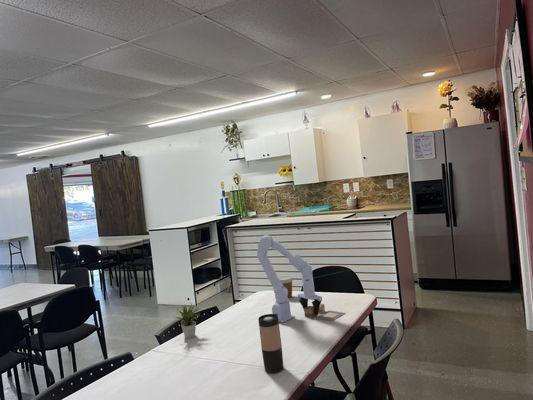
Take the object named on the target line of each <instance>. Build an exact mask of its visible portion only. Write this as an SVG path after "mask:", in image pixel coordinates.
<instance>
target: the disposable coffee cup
mask: <svg viewBox="0 0 533 400" xmlns="http://www.w3.org/2000/svg"><path fill="white" fill-rule="evenodd" d="M278 278H279V280H280V282H281V283H282V284H283V286H284V287H285V288H286V289H287V290H288V295H287V296H288V299H291V298H293V277H292V276H290V275H287V276H280V277H278Z"/></svg>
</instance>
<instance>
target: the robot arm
mask: <svg viewBox="0 0 533 400" xmlns="http://www.w3.org/2000/svg"><path fill="white" fill-rule="evenodd" d="M269 250H276V251H278V253H280V254H281V255H282V256H284V257H285V258H287V259H288V263H289V264H290V265H292V266H293V268H295V269H296V270H297V271H300V273H301V276H302V278H301V282H302V290H303V291H302V292H303V293H298V294H297V299H298V302H299V303H300V305H301V307H302V309H303V310H304V308H306V307H308V306H309V301H310V300H311V304H312V306H313V307H314V313H315V315H317V314H319V313H318V312H319V306H320V303H322V301H323V296H320V295H318V294H316V292H315V284H314V276H313V267H312V265H311V264H310V263H309V262H308V261H307V260H305V259H303V258H302V257H301V255H300V254H297V253H292V252H290V250H288V249H287V247H285V246H284V245H283V244H282V243H281V242H279V241H278V240H277V239H276V238H274V237H272V236H271V235H269V234H265V235H263V236H262V237H261V238H260V239H259V242H258V244H257V253H256V256H257V260H258V261H259V262H260V263H259V264H260V265H261V267H262V269H263V271H264V272H265V275H266V277H267V279H268V280H269V282H270V284H271V286H272V289H273V293H274V296H275V298H274V299H275V303H274V304H273V305H272V307H271V312H272V313H271V314H276V315H277V316H278V321H279V323H285V322H287V321H289V320H291V319H293V318H295V315H292V312H291V304H290V303H291V302H290V298H288V296H287V295H288V290H287V289H286V288H285V287H284V286H283V284H282V283H281V282H280V280H279V278H280V277H279V276H278V274H277V272H276V270H275V268H274V266H273V265H272V262H271V260H270V259H269V257H268V253H269Z"/></svg>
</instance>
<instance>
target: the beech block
mask: <svg viewBox="0 0 533 400" xmlns="http://www.w3.org/2000/svg"><path fill="white" fill-rule="evenodd" d="M325 312H326V308H325V303H323V302H321V303H320V306H319V312H318V314H323V313H325Z"/></svg>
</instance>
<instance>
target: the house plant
mask: <svg viewBox="0 0 533 400" xmlns="http://www.w3.org/2000/svg"><path fill="white" fill-rule="evenodd" d="M195 306H196V303H195V304H193V303H191V304H190V305H189V306H188V307H189V308H188V309H187V306H186V304H185V303H184V304H183V305H182V308H181V310H182V311H183V312H182V311H181V310H180V309H178V308H177V309H176V311H177V313H178V314H180V316H181V317H180V316H176V317H175V319H178V320H180V323H181V325H180V326H181V328H182V329H181V330H182V332H183V336H184V338H185V339H191V338H194V337H196V328H197V327H196V325H197V323H196V321H194V319H195V320H198V317H200V312H199V313H196V312H198V311H200V310H202V308H200V307H201V306H200V305H199V306H197V307H196V308H195Z"/></svg>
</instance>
